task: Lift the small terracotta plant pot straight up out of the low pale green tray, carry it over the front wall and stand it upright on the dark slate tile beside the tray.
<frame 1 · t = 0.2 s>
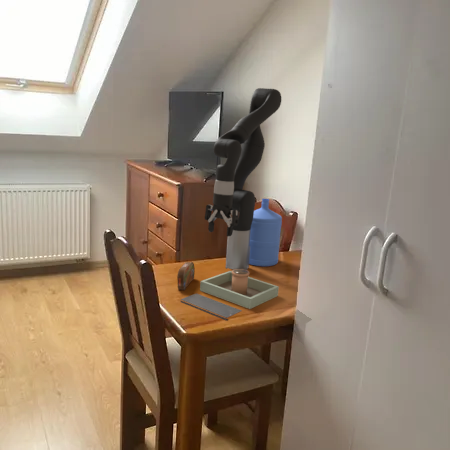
hand: (219, 233, 186), 17 cm above the table, tool pointing down, fingers open, 8 cm apart
clay pot: (238, 293, 171), point 1 cm above the table, touching pale green tray
tin: (185, 287, 177), on the table
slate tile: (210, 307, 160), on the table
pale green tray: (238, 295, 171), on the table
water jug: (260, 261, 213), on the table
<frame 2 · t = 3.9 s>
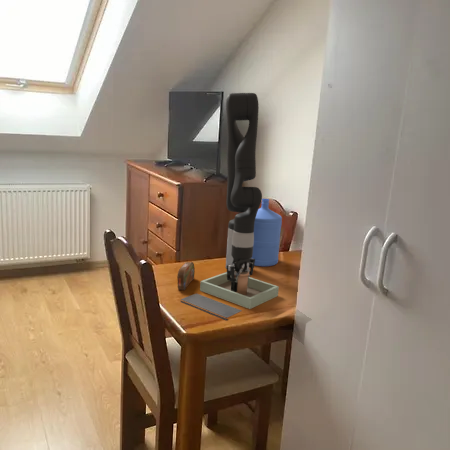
hand: (239, 289, 171), 3 cm above the table, tool pointing down, fingers closed on clay pot, 5 cm apart
clay pot: (238, 293, 171), point 1 cm above the table, touching pale green tray, gripper
everything else where it was.
when the fingers open (4 cm above the table, at t = 10.4 s): clay pot drops 1 cm, resting on slate tile.
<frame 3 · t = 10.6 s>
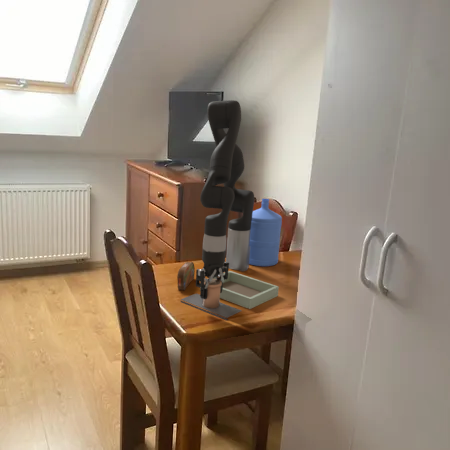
hand: (211, 295, 159), 4 cm above the table, tool pointing down, fingers open, 7 cm apart
clay pot: (210, 304, 159), point 1 cm above the table, touching slate tile
everything else where it was.
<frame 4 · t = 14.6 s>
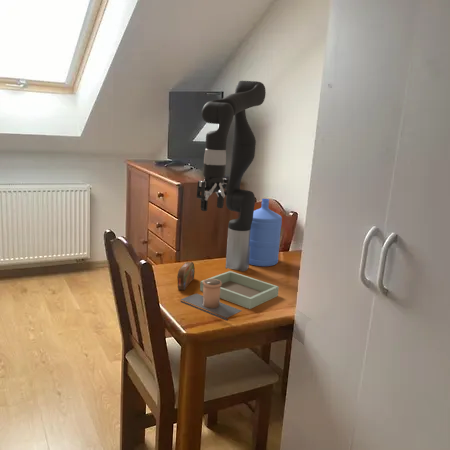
hand: (212, 209, 168), 30 cm above the table, tool pointing down, fingers open, 8 cm apart
nothing on the table moved.
at the end: clay pot inside the target area on the slate tile (0.1 cm from its centre), point 1.0 cm above the slate tile's base; clay pot tilted 0°; the gripper is holding nothing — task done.
